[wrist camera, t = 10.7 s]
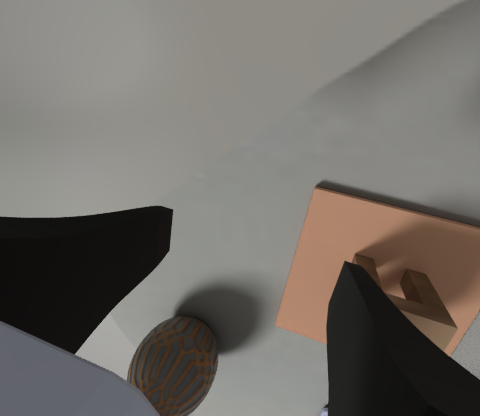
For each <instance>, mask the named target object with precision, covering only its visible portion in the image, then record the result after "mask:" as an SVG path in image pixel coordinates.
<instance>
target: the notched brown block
mask: <svg viewBox="0 0 480 416" xmlns="http://www.w3.org/2000/svg"><path fill="white" fill-rule="evenodd" d="M351 263H354V264H357V265H360V266H362V267H363V268H364V269H365V270H366V271H367V272H368V274H369V275H370V276H371V277H372V278H373V280H374V281H375V282H376V283H377V285H378V286H379V287H380V288H381V289H382V287H381V283H380V280H379V276H378V273H377V270H376V266H375V263H374V259H373V258H369V257H366V256H362V255H359V254H355V255H354V257H353V260H352V262H351ZM400 286H401V288H402V291H403V293H404V296H405V298H406V299H404V298H401V297H397V296H394V295H391V294H388V293H385V292H384V293H385V294H386V295H387V296H388V298H389V299H390V300H391V301H392V302H393V303H394V304H395V306H396V307H397V308H398V309H399V310H400V311H401V312H402V313H403V314H404V315H405V316H406V317H407V318H408V319H409V320H410V321H411V322H412V323H413V324H414V325H415V326H416V327H417V328H418V329H419V330H420V331H421V332H422V333H423V334H424V335H425V336H427V337H428V338H429V339H430V340H431V341H432V342H433V343H434V344H435V345H436V346H438V347H439V348H440V349H441V350H442V351H444V350H445V349H446V347H447V346H448V344H449V342H450V341H451V339H452V338H453V336H454V334H455V333H456V331H457V330H458V328H457V326H456V324H455V322H454V321H453V319H452V317H451V316H450V314H449V312H448V310H447V309H446V307H445V305H444V304H443V302H442V300H441V299H440V297H439V295H438V293H437V292H436V290H435V288H434V287H433V285H432V283H431V282H430V280H429V278H428V276H427V275H426V274H424V273H421V272H417V271H414V270H410V269H407V268H406V270H405V272H404V275H403V277H402V279H401V281H400ZM382 291H383V290H382Z"/></svg>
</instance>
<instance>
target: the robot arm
mask: <svg viewBox="0 0 480 416" xmlns="http://www.w3.org/2000/svg"><path fill="white" fill-rule="evenodd" d="M172 216H173V209H169V208H166V207H163V206H149V207H142V208H136V209H130V210H123V211H118V212H110V213H103V214H96V215H87V216H76V217H61V218H17V217H0V416H160V415H159V413H158V412H157V411H156V410H155V408H154V407H153V406H152V404H151V403H150V402H149V401H148V399H147V398H146V397H145V395H144V394H143V393H142V392H141V390H139V389H138V388H136V387H135V386H133V385H132V384H130V383H129V382H127V381H126V380H124V379H123V378H121V377H120V376H118V375H117V374H115V373H114V372H112V371H109V370H107V369H105V368H103V367H100V366H98V365H96V364H94V363H92V362H90V361H87V360H85V359H83V358H81V357H79V356H76V355H75V353H76V352H77V351H78V350H79V348H80V347H81V346H82V345H83V343H84V342H85V341H86V340H87V338H88V337H89V336H90V335H91V334H92V332H93V331H94V330H95V329H96V328H97V326H98V325H99V324H100V323H101V322H102V321H103V319H104V318H105V317H106V316H107V315H108V314H109V312H110V311H111V310H112V309H113V308H114V307H115V306H116V305H117V304H118V303H119V302H120V301H121V300H122V299H123V298H124V297H125V296H127V295H128V294H129V293H130V292H131V291H132V290H133V289H134V288H135V287H136V286H137V285H138V284H139V283H140V282H142V281H143V280H144V279H145V278H146V277H147V276H148V275H149V274H150V273H151V272H152V271H153V270H154V269H155V268H156V267H157V266H158V265H159V263H160V262H161V261H162V260H163V258H164V257H165V256H166V254H167V253H168V252H169V249H170V238H171V227H172ZM326 335H327V359H328V381H329V401H328V408H323V409H322V411H321V413H320V415H319V416H480V380H479V379H478V378H477V377H475V376H474V375H472V374H471V373H470V372H469V371H467V370H466V369H465V368H464V367H462V366H461V365H460V364H458V363H457V362H456V361H455V360H453V359H452V358H451V357H450V356H448V355H447V354H446V353H445V352H444V351H442V350H441V349H440V348H439V347H438V346H436V345H435V344H434V343H433V342H432V341H431V340H430V339H429V338H428V337H427V336H425V335H424V334H423V333H422V332H421V331H420V330H419V329H418V328H417V327H416V326H415V325H414V324H413V323H412V322H411V321H410V320H409V319H408V318H407V317H406V316H405V315H404V314H403V313H402V312H401V311H400V310H399V309H398V308H397V307H396V306H395V304H394V303H393V302H392V301H391V300H390V299H389V298H388V296H387V295H386V294H385V293H384V292H383V291H382V289H381V288H380V287H379V286H378V285H377V283H376V282H375V281H374V280H373V278H372V277H371V276H370V275H369V274H368V272H367V271H366V270H365V269H364V268H363V267H362V266H360V265H357V264H354V263H350V262H347V261H344V264H343V266H342V269H341V272H340V274H339V277H338V280H337V282H336V285H335V288H334V290H333V293H332V296H331V298H330V301H329V304H328V313H327V324H326Z"/></svg>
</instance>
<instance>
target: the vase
mask: <svg viewBox="0 0 480 416" xmlns="http://www.w3.org/2000/svg"><path fill="white" fill-rule="evenodd" d="M217 365H218V347H217V343H216V340H215V338H214V336H213V334H212V332H211V331H210V329H209V328H208V327H207V326H206V325H205V324H204V323H203V322H201V321H200V320H198V319H195V318H192V317H186V316H179V317H173V318H170V319H168V320H166V321H164V322H162V323H160V324H159V325H157V326H156V327H155V328H154V329H152V330H151V331H150V333H149V334H148V335H147V336H146V337H145V338H144V339H143V341H142V342H141V343H140V345H139V346H138V348H137V350H136V352H135V354H134V356H133V358H132V361H131V364H130V367H129V371H128V376H127V382H129V383H130V384H132V385H133V386H135V387H136V388H138V389H139V390H141V392H142V393H143V394H144V395H145V397H146V398H147V399H148V401H149V402H150V403H151V404H152V406H153V407H154V408H155V410H156V411H157V412H158V413H159V415H160V416H188V415H189V414H191V413H192V412H193V411H194V410H195V409H196V408H197V407H198V406H199V405H200V403H201V402H202V401H203V399H204V398H205V397H206V395H207V393H208V392H209V390H210V388H211V385H212V383H213V380H214V378H215V374H216V371H217Z"/></svg>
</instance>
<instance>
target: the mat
mask: <svg viewBox="0 0 480 416" xmlns="http://www.w3.org/2000/svg"><path fill="white" fill-rule="evenodd" d="M355 254H359V255H362V256H366V257H369V258H373V259H374V263H375V266H376V270H377V273H378V276H379V280H380V283H381V287H382V290H383V292H385V293H388V294H391V295H394V296H397V297H401V298H404V299H406V298H405V296H404V293H403V291H402V288H401V286H400V281H401V279H402V277H403V275H404V272H405V270H406V268H407V269H410V270H414V271H417V272H421V273H424V274H426V275H427V276H428V278H429V280H430V282H431V283H432V285H433V287H434V288H435V290H436V292H437V293H438V295H439V297H440V299H441V300H442V302H443V304H444V305H445V307H446V309H447V310H448V312H449V314H450V316H451V317H452V319H453V321H454V322H455V324H456V326H457V328H458V330H457V331H456V333H455V334H454V336H453V338H452V339H451V341H450V342H449V344H448V346H447V347H446V349H445V350H444V352H445V353H446V354H447V355H448V356H451V354H452V352H453V351H454V349H455V348H456V346H457V345H458V343H459V341H460V340H461V338H462V337H463V335H464V334H465V332H466V331H467V329H468V327H469V326H470V324H471V323H472V321H473V320H474V318H475V317H476V315H477V313H478V312H479V310H480V227H476V226H472V225H468V224H464V223H460V222H456V221H452V220H448V219H444V218H440V217H436V216H432V215H428V214H424V213H420V212H416V211H412V210H408V209H404V208H400V207H396V206H392V205H388V204H384V203H380V202H376V201H372V200H368V199H364V198H360V197H356V196H352V195H348V194H344V193H340V192H336V191H332V190H328V189H324V188H320V187H317V186H315V188H314V192H313V195H312V199H311V202H310V205H309V209H308V212H307V216H306V219H305V223H304V226H303V229H302V233H301V236H300V240H299V243H298V246H297V250H296V253H295V257H294V260H293V263H292V267H291V270H290V274H289V277H288V281H287V284H286V287H285V291H284V294H283V298H282V301H281V304H280V308H279V311H278V315H277V318H276V322H275V326H278V327H281V328H284V329H286V330H289V331H292V332H295V333H297V334H300V335H303V336H306V337H308V338H311V339H314V340H317V341H319V342H322V343H325V344H327V335H326V324H327V313H328V304H329V301H330V298H331V296H332V293H333V290H334V288H335V285H336V282H337V280H338V277H339V274H340V272H341V269H342V266H343V264H344V261H347V262H350V263H351V262H352V260H353V257H354V255H355Z"/></svg>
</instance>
